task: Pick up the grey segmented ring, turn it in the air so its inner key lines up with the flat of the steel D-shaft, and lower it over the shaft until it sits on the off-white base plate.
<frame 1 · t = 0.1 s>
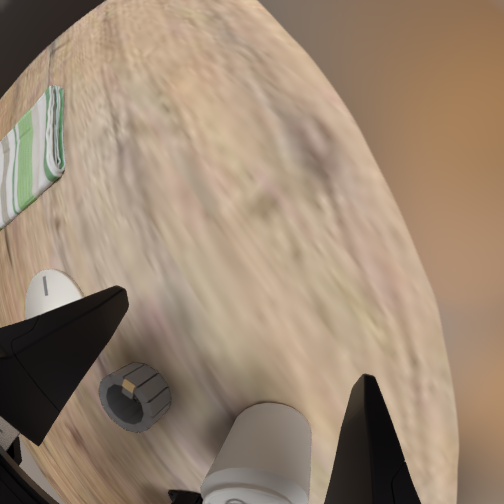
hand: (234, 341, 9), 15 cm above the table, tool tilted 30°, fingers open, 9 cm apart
shaft hub: (57, 324, 29), on the table
can: (273, 428, 24), on the table
dish towel: (23, 165, 33), on the table
grey segmented ring: (144, 390, 26), on the table
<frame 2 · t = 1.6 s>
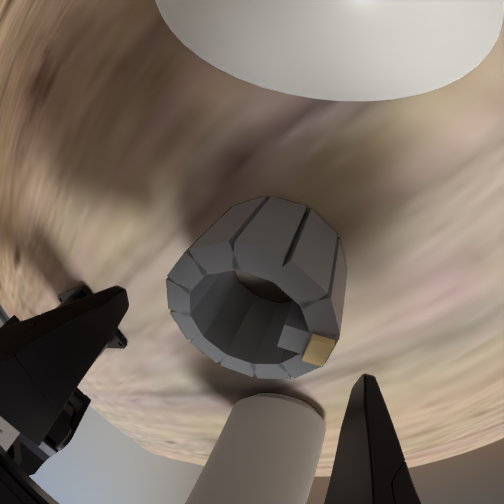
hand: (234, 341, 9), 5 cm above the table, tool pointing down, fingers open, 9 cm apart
can: (282, 410, 20), on the table
grey segmented ring: (275, 264, 13), on the table
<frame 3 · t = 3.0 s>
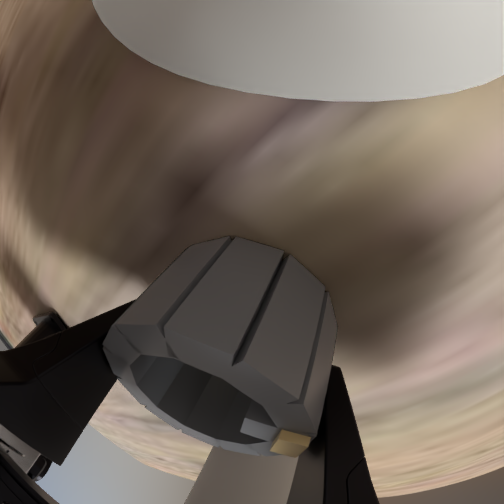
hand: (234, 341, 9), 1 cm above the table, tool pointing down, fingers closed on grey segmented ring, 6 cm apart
can: (268, 448, 17), on the table
grey segmented ring: (246, 317, 10), on the table, touching gripper
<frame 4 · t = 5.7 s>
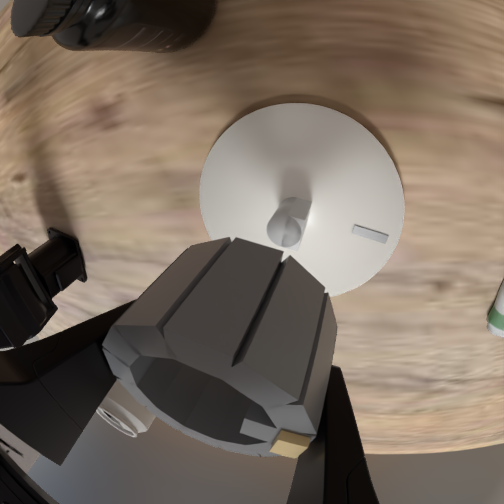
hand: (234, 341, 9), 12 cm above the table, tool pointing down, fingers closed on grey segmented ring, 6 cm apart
shaft hub: (299, 207, 19), on the table
supplement bottle: (177, 14, 14), on the table
can: (161, 355, 35), on the table
grey segmented ring: (246, 318, 10), point 11 cm above the table, touching gripper
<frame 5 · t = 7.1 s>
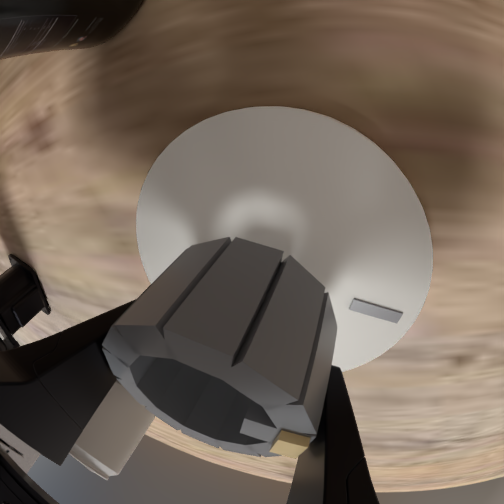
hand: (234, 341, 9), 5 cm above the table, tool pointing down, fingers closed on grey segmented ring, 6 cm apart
shaft hub: (273, 265, 13), on the table
can: (133, 393, 30), on the table
grey segmented ring: (246, 318, 10), point 4 cm above the table, touching gripper
when the fingers open (3 cm above the table, at t = 8.4 s): grey segmented ring drops 1 cm, resting on shaft hub.
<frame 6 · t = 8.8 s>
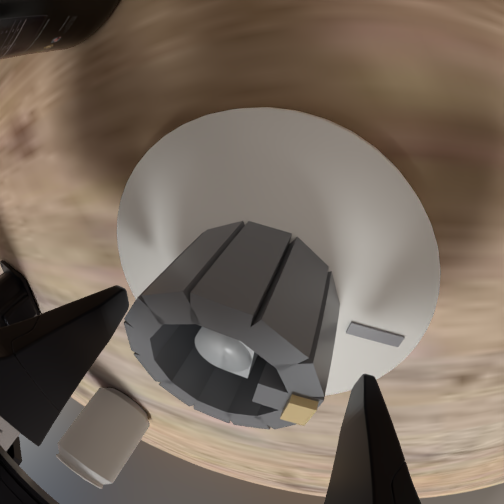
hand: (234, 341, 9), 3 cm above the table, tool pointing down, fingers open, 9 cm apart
shaft hub: (264, 283, 12), on the table
can: (127, 401, 28), on the table
grey segmented ring: (255, 298, 11), point 1 cm above the table, touching shaft hub
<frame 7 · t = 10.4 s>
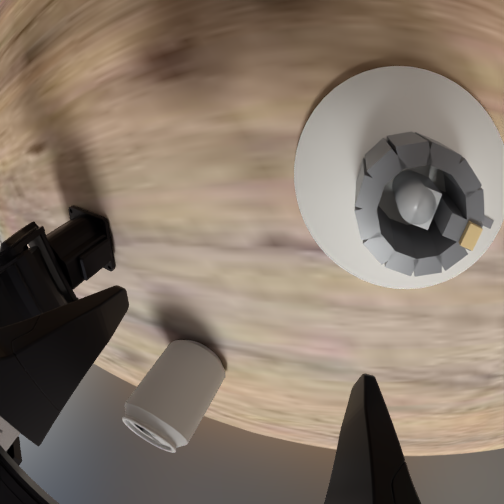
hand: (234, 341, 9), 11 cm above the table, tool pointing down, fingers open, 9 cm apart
shaft hub: (408, 183, 15), on the table
can: (200, 356, 32), on the table
grey segmented ring: (410, 188, 14), point 1 cm above the table, touching shaft hub
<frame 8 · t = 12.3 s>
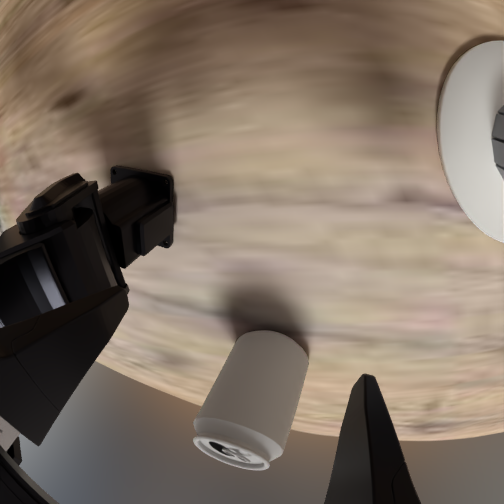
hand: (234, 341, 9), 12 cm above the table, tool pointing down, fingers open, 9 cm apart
can: (273, 349, 27), on the table
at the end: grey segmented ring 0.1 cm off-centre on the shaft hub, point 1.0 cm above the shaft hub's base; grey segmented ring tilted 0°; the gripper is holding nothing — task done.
